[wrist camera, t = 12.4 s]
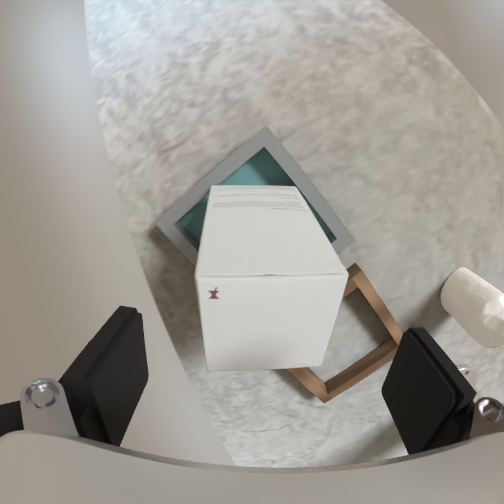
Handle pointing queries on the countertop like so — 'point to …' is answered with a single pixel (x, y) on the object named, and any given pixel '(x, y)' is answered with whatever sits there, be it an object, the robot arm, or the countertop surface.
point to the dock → (249, 173)
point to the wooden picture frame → (366, 363)
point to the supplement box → (265, 280)
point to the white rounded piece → (475, 307)
